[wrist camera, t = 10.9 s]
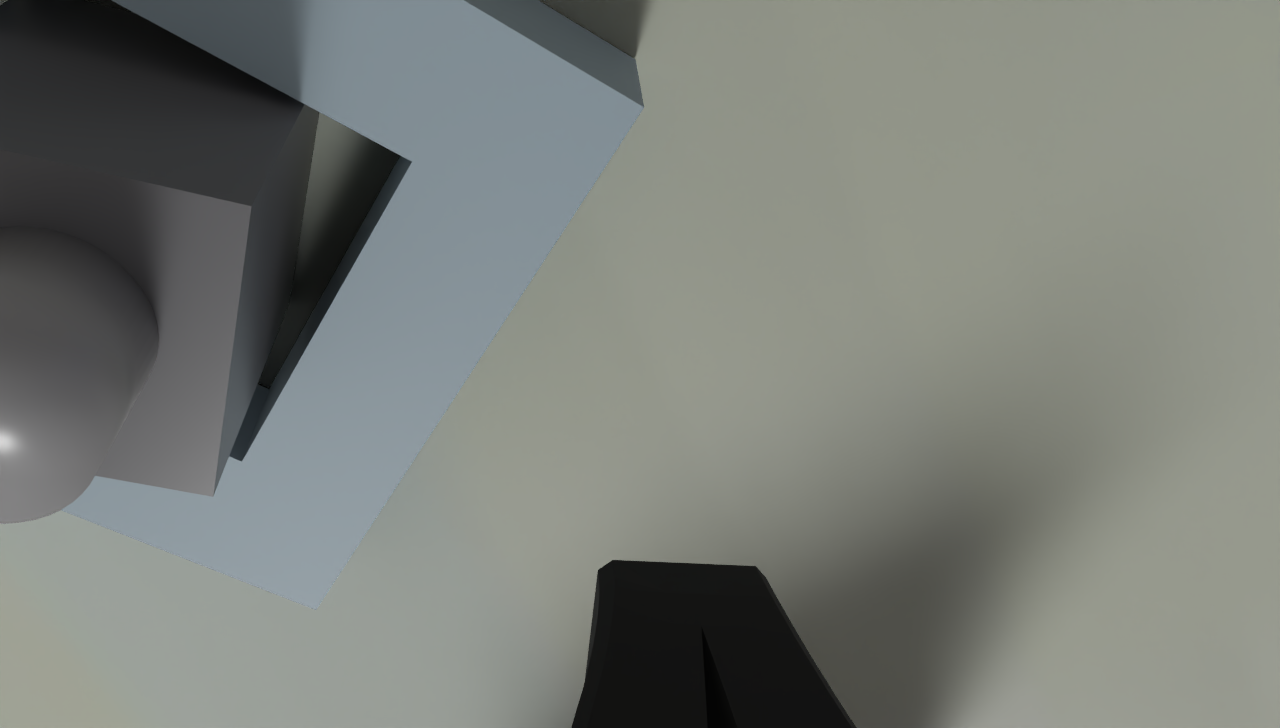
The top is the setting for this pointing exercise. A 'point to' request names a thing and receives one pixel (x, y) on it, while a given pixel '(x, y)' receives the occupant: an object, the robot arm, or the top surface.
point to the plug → (134, 251)
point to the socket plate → (388, 256)
